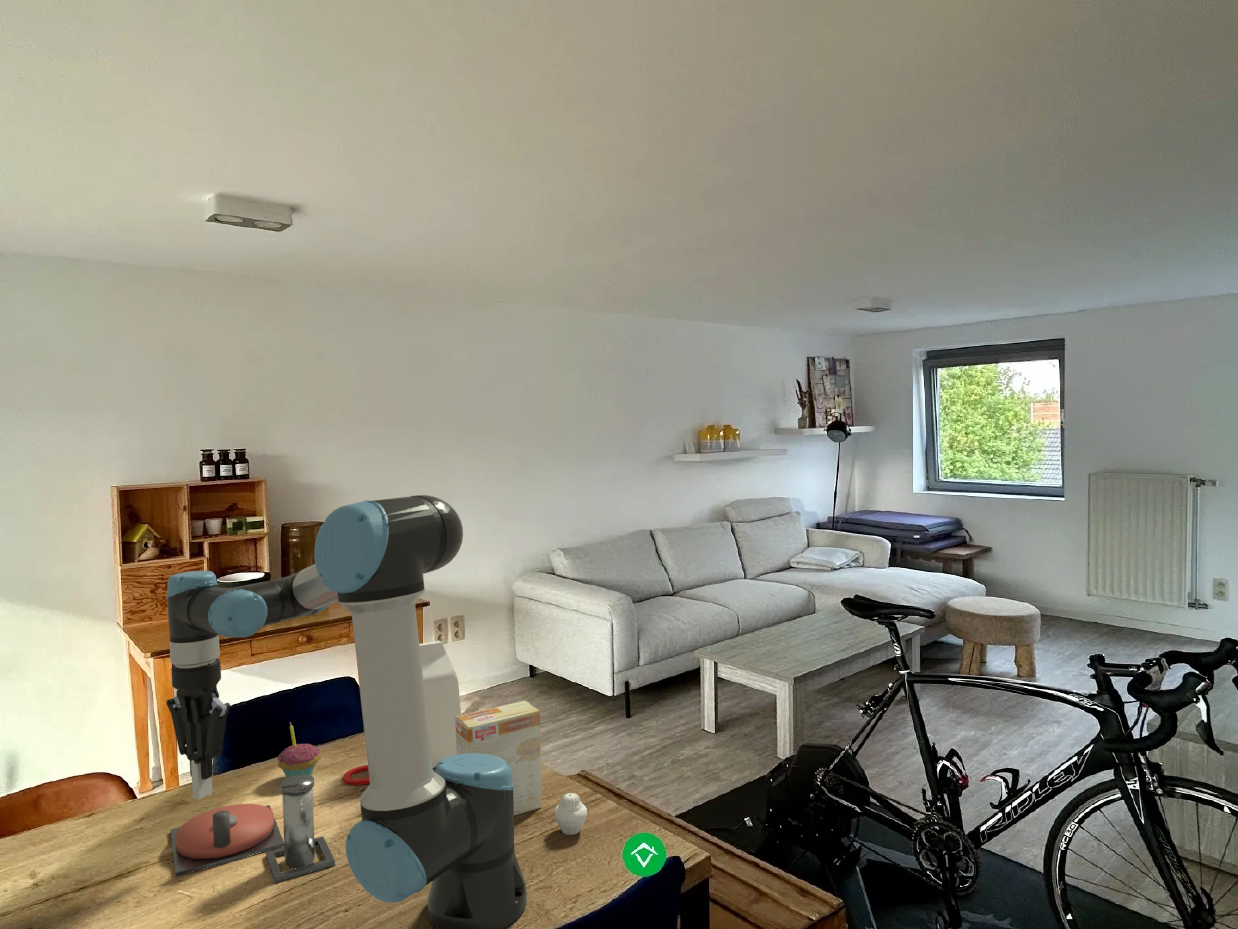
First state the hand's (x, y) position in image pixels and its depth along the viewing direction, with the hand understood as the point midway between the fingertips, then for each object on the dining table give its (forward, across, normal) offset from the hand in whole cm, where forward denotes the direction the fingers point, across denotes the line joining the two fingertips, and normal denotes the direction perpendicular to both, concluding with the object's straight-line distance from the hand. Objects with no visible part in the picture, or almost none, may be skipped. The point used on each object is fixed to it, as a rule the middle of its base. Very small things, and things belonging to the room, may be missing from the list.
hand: (202, 795), depth 137 cm
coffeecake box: (+12, -39, -33) cm, 53 cm away
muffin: (+12, -55, -32) cm, 65 cm away
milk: (+11, -11, -49) cm, 52 cm away
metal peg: (+11, -16, -5) cm, 20 cm away
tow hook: (+12, -4, -36) cm, 38 cm away
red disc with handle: (+11, +2, -6) cm, 13 cm away
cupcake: (+11, +8, -30) cm, 33 cm away
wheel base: (+11, +2, -6) cm, 13 cm away
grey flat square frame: (+11, -16, -5) cm, 20 cm away
